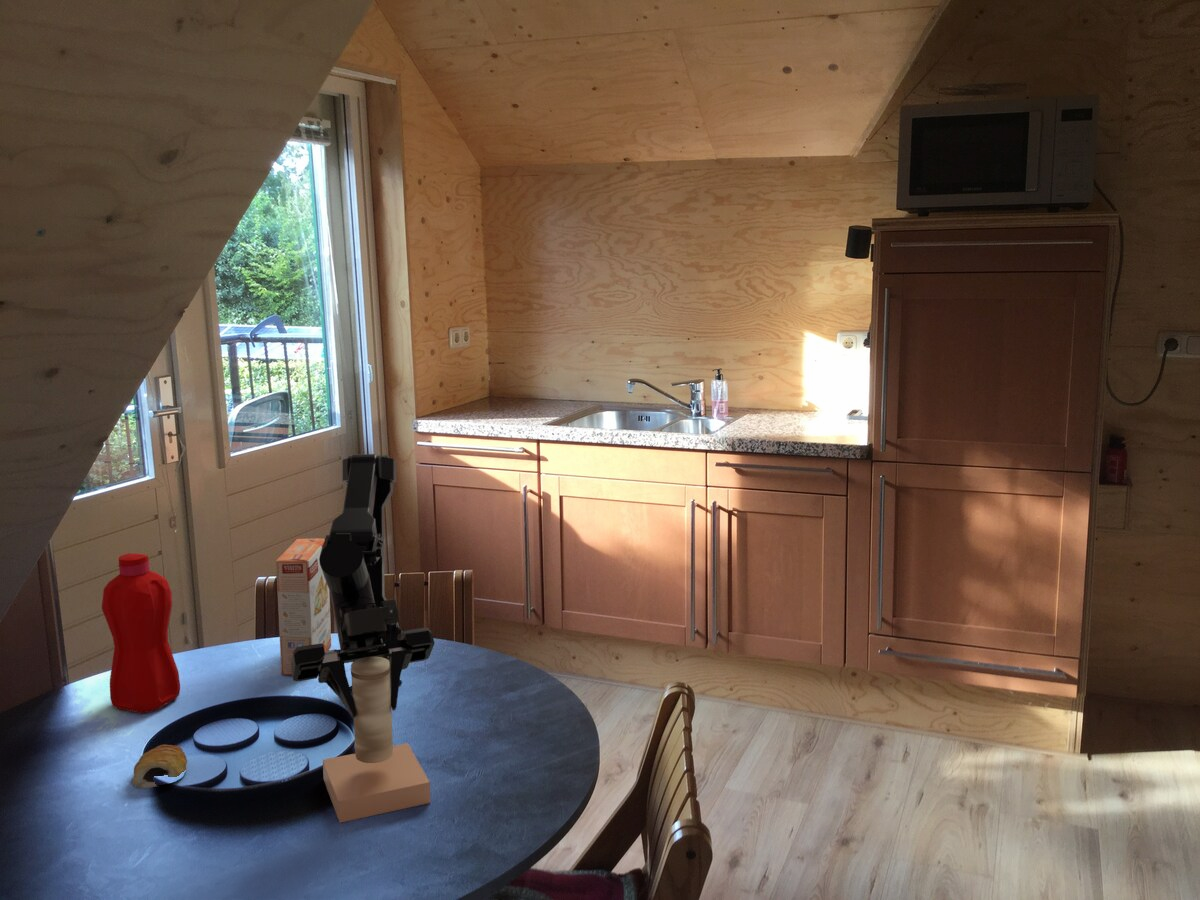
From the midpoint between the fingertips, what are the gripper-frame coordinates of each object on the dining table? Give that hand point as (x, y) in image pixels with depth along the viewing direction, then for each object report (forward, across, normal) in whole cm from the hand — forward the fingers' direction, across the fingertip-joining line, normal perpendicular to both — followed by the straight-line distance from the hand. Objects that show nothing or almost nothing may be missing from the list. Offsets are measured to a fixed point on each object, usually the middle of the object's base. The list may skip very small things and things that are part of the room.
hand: (374, 712), depth 139 cm
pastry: (-4, -27, +22) cm, 35 cm away
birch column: (+4, 0, +6) cm, 7 cm away
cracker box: (-27, -1, +45) cm, 53 cm away
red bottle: (-23, -28, +40) cm, 54 cm away
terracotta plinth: (+8, 0, +9) cm, 12 cm away
